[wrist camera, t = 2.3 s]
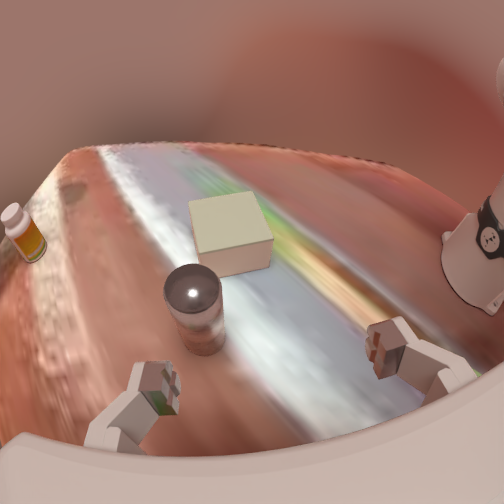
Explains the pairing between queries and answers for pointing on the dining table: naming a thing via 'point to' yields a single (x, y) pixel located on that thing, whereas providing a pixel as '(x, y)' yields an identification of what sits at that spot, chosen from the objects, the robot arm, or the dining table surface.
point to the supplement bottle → (23, 233)
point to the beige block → (231, 234)
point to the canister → (196, 307)
